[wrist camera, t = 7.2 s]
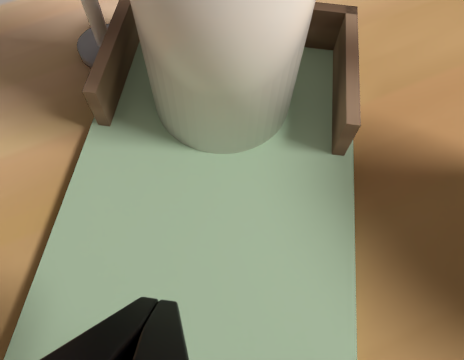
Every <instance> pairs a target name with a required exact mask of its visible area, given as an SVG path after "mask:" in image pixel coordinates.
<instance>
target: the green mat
mask: <svg viewBox="0 0 464 360" xmlns="http://www.w3.org/2000/svg"><path fill="white" fill-rule="evenodd" d="M332 92H333V50H324V49H315V48H307V47H304V50H303V54H302V58H301V62H300V66H299V70H298V74H297V78H296V82H295V86H294V90H293V94H292V98H291V102H290V106H289V110H288V114H287V117H286V119H285V122H284V123H283V125H282V126H281V128H280V129H279V130H278V132H277V133H276V134H275V135H274V136H273V137H271V138H270V139H269V140H268V141H266V142H265V143H263V144H261V145H259V146H257V147H255V148H253V149H250V150H247V151H243V152H239V153H232V154H214V153H207V152H203V151H199V150H196V149H193V148H191V147H189V146H187V145H185V144H183V143H181V142H180V141H178V140H177V139H175V138H174V137H173V136H172V135H171V134H170V133H169V132H168V131H167V130H166V128H165V127H164V126H163V124H162V122H161V121H160V119H159V116H158V114H157V110H156V105H155V101H154V97H153V93H152V89H151V85H150V81H149V77H148V73H147V68H146V64H145V60H144V56H143V52H142V48H141V44H140V41H139V44H138V47H137V50H136V53H135V56H134V59H133V62H132V65H131V68H130V70H129V73H128V76H127V79H126V82H125V85H124V88H123V91H122V94H121V96H120V99H119V102H118V105H117V108H116V111H115V114H114V117H113V120H112V123H111V125H110V126H102V125H98V123H97V121H96V119H95V117H94V119H93V122H92V125H91V127H90V130H89V133H88V135H87V138H86V141H85V143H84V146H83V149H82V151H81V154H80V157H79V159H78V162H77V165H76V167H75V170H74V173H73V175H72V178H71V181H70V183H69V186H68V189H67V191H66V194H65V197H64V199H63V202H62V205H61V208H60V210H59V213H58V216H57V218H56V221H55V224H54V226H53V229H52V232H51V234H50V237H49V240H48V242H47V245H46V248H45V250H44V253H43V256H42V258H41V261H40V264H39V266H38V269H37V272H36V274H35V277H34V280H33V282H32V285H31V288H30V290H29V293H28V296H27V298H26V301H25V304H24V306H23V309H22V312H21V314H20V317H19V320H18V323H17V325H16V328H15V331H14V333H13V336H12V339H11V341H10V344H9V347H8V349H7V352H6V355H5V357H4V360H40V359H41V358H43V357H45V356H46V355H48V354H49V353H51V352H53V351H54V350H56V349H58V348H59V347H61V346H62V345H64V344H66V343H67V342H69V341H70V340H72V339H74V338H75V337H77V336H78V335H80V334H82V333H83V332H85V331H87V330H88V329H90V328H91V327H93V326H95V325H96V324H98V323H99V322H101V321H103V320H104V319H106V318H107V317H109V316H111V315H112V314H114V313H116V312H117V311H119V310H120V309H122V308H124V307H125V306H127V305H128V304H130V303H132V302H133V301H135V300H136V299H138V298H140V297H149V298H156V299H158V301H159V300H162V299H163V300H170V301H176V302H177V303H178V307H179V312H180V317H181V322H182V327H183V332H184V337H185V342H186V347H187V352H188V357H189V360H357V329H356V272H355V214H354V157H353V140H352V142H351V144H350V146H349V148H348V150H347V151H346V153H345V155H344V156H341V155H333V154H332Z"/></svg>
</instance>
